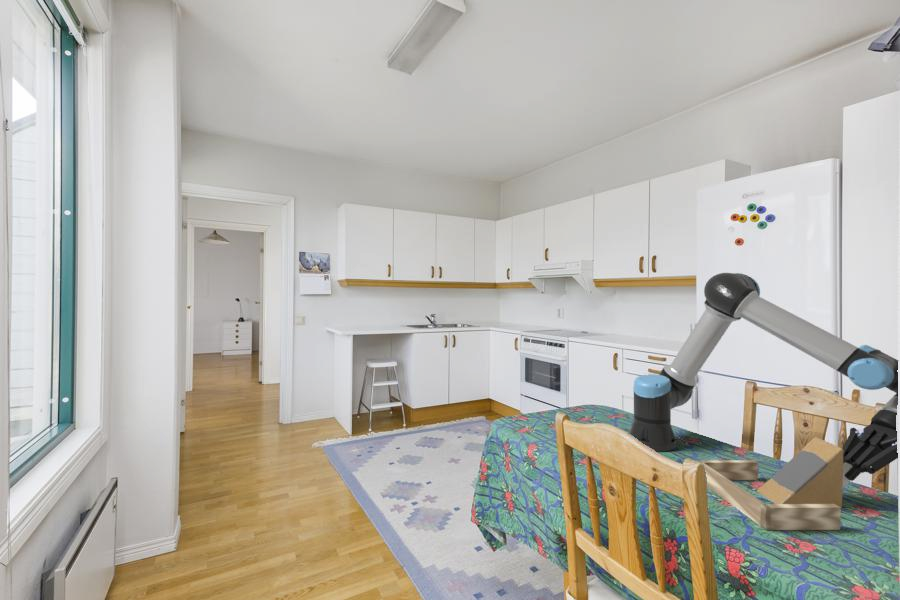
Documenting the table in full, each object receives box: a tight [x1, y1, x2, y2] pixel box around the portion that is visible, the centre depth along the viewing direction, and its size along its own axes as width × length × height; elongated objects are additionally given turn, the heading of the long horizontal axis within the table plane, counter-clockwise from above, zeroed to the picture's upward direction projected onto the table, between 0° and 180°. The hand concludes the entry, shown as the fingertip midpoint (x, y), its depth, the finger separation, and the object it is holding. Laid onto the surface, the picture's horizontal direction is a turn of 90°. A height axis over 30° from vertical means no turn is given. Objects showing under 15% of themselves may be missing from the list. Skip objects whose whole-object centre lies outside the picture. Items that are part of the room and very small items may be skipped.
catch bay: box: [695, 459, 842, 531], centre depth 105 cm, size 17×26×5 cm, turn 0°
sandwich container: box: [756, 436, 844, 509], centre depth 106 cm, size 9×15×15 cm, turn 87°
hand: (833, 485), depth 105 cm, fingers closed
